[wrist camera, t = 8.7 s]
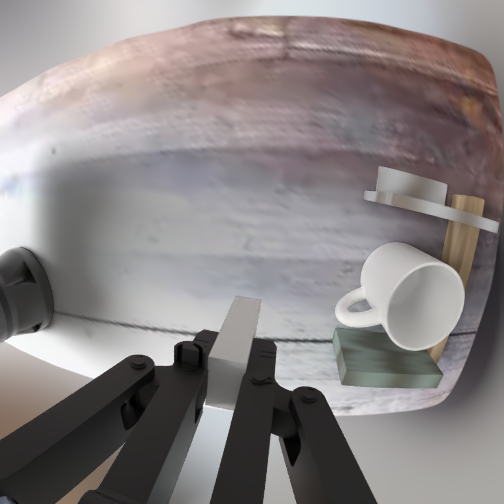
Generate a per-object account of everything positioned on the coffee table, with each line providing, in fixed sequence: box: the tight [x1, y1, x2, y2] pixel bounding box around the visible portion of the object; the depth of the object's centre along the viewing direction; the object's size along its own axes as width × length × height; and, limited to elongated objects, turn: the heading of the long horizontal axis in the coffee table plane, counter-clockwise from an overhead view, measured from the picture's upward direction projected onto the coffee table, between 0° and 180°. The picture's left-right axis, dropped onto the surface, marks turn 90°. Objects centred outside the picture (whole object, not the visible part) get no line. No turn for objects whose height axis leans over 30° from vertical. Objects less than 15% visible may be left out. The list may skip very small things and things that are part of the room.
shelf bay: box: [332, 166, 499, 388], centre depth 26 cm, size 13×23×10 cm, turn 172°
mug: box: [335, 242, 465, 351], centre depth 27 cm, size 12×8×10 cm
